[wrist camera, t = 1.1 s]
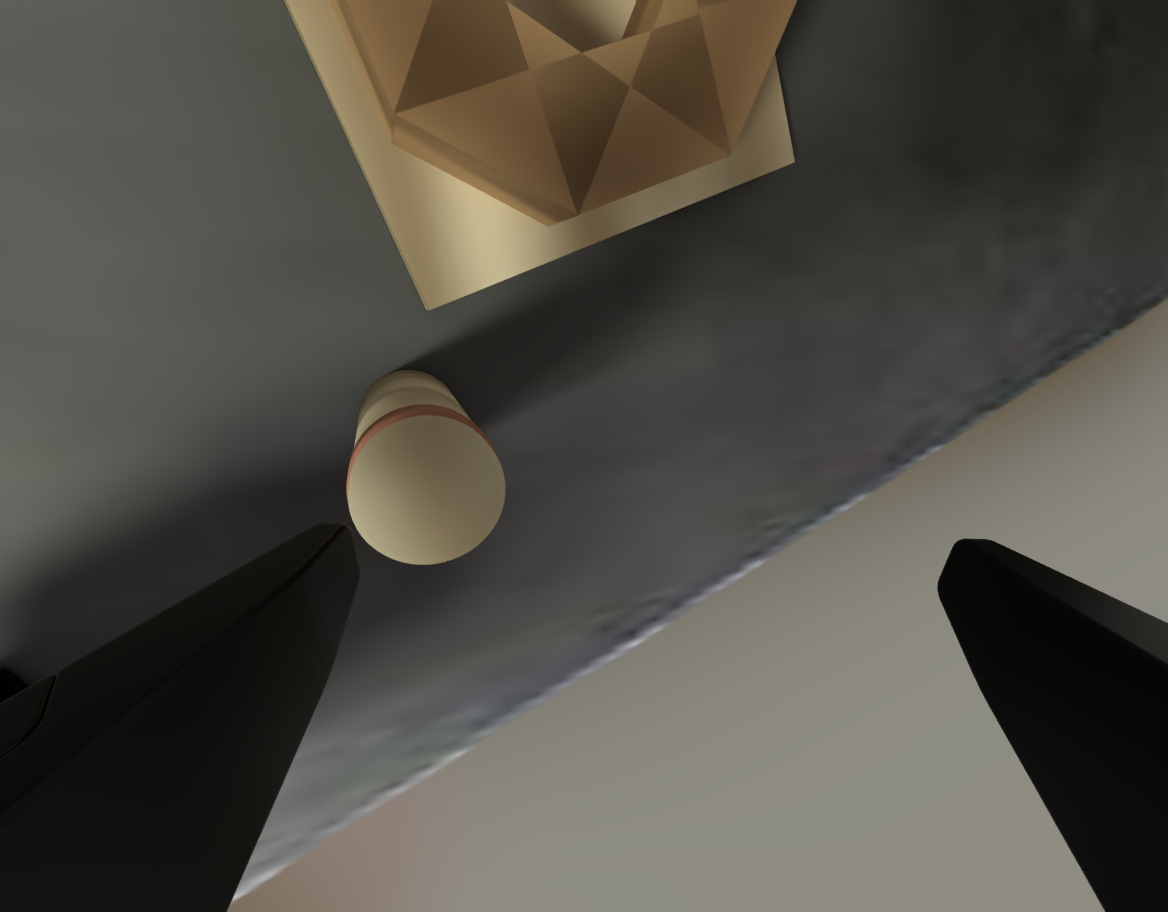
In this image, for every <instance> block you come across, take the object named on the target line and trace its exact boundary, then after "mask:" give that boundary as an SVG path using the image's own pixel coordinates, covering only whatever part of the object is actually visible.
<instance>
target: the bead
mask: <svg viewBox="0 0 1168 912" xmlns="http://www.w3.org/2000/svg"><path fill="white" fill-rule="evenodd" d="M329 1H330V3H331V5H332V8H333V10H334V12H335V15H336V17H337V19H338V22H339V24H340V26H341V28H342V31H343V33H344V35H345V38H346V40H347V42H348V45H349V47H350V49H351V51H352V54H353V56H354V58H355V61H356V63H357V65H358V68H359V70H360V72H361V75H362V77H363V79H364V81H365V84H366V86H367V88H368V91H369V93H370V95H371V98H372V100H373V102H374V104H375V107H376V109H377V111H378V114H379V116H380V118H381V121H382V123H383V125H384V127H385V130H386V132H387V134H388V137H389V139H390V141H391V144H393V145H395V146H397V147H399V148H401V149H403V150H404V151H406V152H408V153H410V154H412V155H414V156H416V157H418V158H420V159H421V160H423V161H425V162H427V163H429V164H431V165H433V166H435V167H436V168H438V169H440V170H442V171H444V172H446V173H448V174H450V175H452V176H453V177H455V178H457V179H459V180H461V181H463V182H465V183H467V184H468V185H470V186H472V187H474V188H476V189H478V190H480V191H482V192H484V193H485V194H487V195H489V196H491V197H493V198H495V199H497V200H499V201H501V202H502V203H504V204H506V205H508V206H510V207H512V208H514V209H516V210H517V211H519V212H521V213H523V214H525V215H527V216H529V217H531V218H533V219H534V220H536V221H538V222H540V223H542V224H544V225H546V226H547V227H549V226H552V225H555V224H557V223H560V222H563V221H565V220H568V219H571V218H573V217H576V216H579V215H580V214H583V213H585V212H588V211H590V210H593V209H596V208H598V207H601V206H603V205H606V204H608V203H611V202H613V201H616V200H619V199H621V198H624V197H626V196H629V195H631V194H634V193H636V192H639V191H642V190H644V189H647V188H649V187H652V186H654V185H657V184H659V183H662V182H665V181H667V180H670V179H672V178H675V177H677V176H680V175H682V174H685V173H687V172H690V171H693V170H695V169H698V168H700V167H703V166H706V165H708V164H711V163H714V162H716V161H719V160H721V159H724V158H727V157H729V156H731V155H732V152H733V150H734V147H735V145H736V143H737V140H738V138H739V136H740V133H741V131H742V129H743V126H744V124H745V122H746V119H747V117H748V115H749V112H750V110H751V108H752V105H753V103H754V101H755V98H756V96H757V93H758V91H759V89H760V86H761V84H762V82H763V79H764V77H765V75H766V72H767V70H768V68H769V65H770V63H771V61H772V58H773V56H774V54H775V51H776V49H777V47H778V44H779V42H780V39H781V37H782V35H783V32H784V30H785V28H786V25H787V23H788V21H789V18H790V16H791V14H792V11H793V9H794V7H795V4H796V2H797V0H636V3H635V6H634V8H633V11H632V13H631V16H630V19H629V21H628V24H627V26H626V29H625V31H624V34H623V36H622V39H621V40H619V41H616V42H613V43H610V44H607V45H604V46H601V47H598V48H595V49H592V50H589V51H586V52H583V53H581V52H580V51H578V50H577V49H576V48H574V47H573V46H571V45H570V44H568V43H567V42H565V41H564V40H562V39H561V38H560V37H558V36H557V35H555V34H554V33H552V32H551V31H549V30H548V29H547V28H545V27H544V26H542V25H541V24H539V23H538V22H536V21H535V20H534V19H532V18H531V17H529V16H528V15H526V14H525V13H523V12H522V11H521V10H519V9H518V8H516V7H515V6H513V5H512V4H510V3H509V2H507V1H506V0H329Z"/></svg>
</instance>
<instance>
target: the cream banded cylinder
mask: <svg viewBox="0 0 1168 912" xmlns="http://www.w3.org/2000/svg"><path fill="white" fill-rule="evenodd" d="M346 488H347V499H348V504H349V510H350V514H351V517H352V520H353V522H354V524H355V526H356V528H357V530H358V531H359V533H360V534H361V536H362V537H363V538H364V539H365V540H366V542H367V543H368V544H369V545H371V546H372V547H373V548H374V549H375V550H377V551H378V552H380V553H382V554H383V555H385V556H387V557H389V558H392V559H394V560H397V561H400V562H404V563H409V564H417V565H429V564H437V563H443V562H446V561H450V560H453V559H455V558H458V557H460V556H462V555H464V554H466V553H467V552H469V551H471V550H472V549H474V548H475V547H476V546H478V545H479V544H480V543H481V542H482V541H483V540H484V539H485V538H486V537H487V536H488V535H489V533H490V532H491V531H492V529H493V528H494V526H495V525H496V523H497V521H498V519H499V517H500V515H501V512H502V509H503V506H504V501H505V491H506V487H505V478H504V473H503V469H502V467H501V463H500V461H499V458H498V455H497V453H496V451H495V450H494V448H493V446H492V445H491V443H490V442H489V441H488V439H487V438H486V437H485V435H484V434H483V433H482V431H481V430H480V429H479V428H478V427H477V426H476V425H475V424H474V423H473V422H472V421H471V419H470V418H469V417H468V415H467V414H466V413H465V411H464V410H463V408H462V407H461V406H460V404H459V403H458V401H457V400H456V399H455V397H454V396H453V395H452V393H451V392H450V390H449V389H448V388H447V387H446V386H445V385H444V384H443V383H442V382H441V381H440V380H439V379H437V378H436V377H434V376H432V375H430V374H428V373H425V372H422V371H417V370H400V371H395V372H392V373H389V374H387V375H385V376H383V377H381V378H380V379H378V380H377V381H376V382H374V383H373V384H372V385H371V386H370V388H369V389H368V390H367V392H366V393H365V395H364V397H363V399H362V402H361V406H360V412H359V418H358V425H357V432H356V439H355V446H354V450H353V452H352V455H351V459H350V463H349V469H348V476H347V484H346Z"/></svg>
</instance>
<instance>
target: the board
mask: <svg viewBox="0 0 1168 912" xmlns="http://www.w3.org/2000/svg"><path fill="white" fill-rule="evenodd" d="M506 1H507V2H509V3H510V4H512V5H513V6H515V7H516V8H518V9H519V10H521V11H522V12H523V13H525V14H526V15H528V16H529V17H531V18H532V19H534V20H535V21H536V22H538V23H539V24H541V25H542V26H544V27H545V28H547V29H548V30H549V31H551V32H552V33H554V34H555V35H557V36H558V37H560V38H561V39H562V40H564V41H565V42H567V43H568V44H570V45H571V46H573V47H574V48H576V49H577V50H578V51H580V52H581V53H583V52H586V51H589V50H592V49H595V48H598V47H601V46H604V45H607V44H610V43H613V42H616V41H619V40H621V39H622V36H623V34H624V31H625V29H626V26H627V24H628V21H629V19H630V16H631V13H632V11H633V8H634V6H635V3H636V0H506ZM284 2H285V4H286V6H287V8H288V10H289V12H290V15H291V17H292V19H293V21H294V23H295V25H296V28H297V30H298V32H299V34H300V36H301V39H302V41H303V43H304V45H305V47H306V49H307V52H308V54H309V56H310V58H311V60H312V62H313V65H314V67H315V69H316V71H317V73H318V75H319V78H320V80H321V82H322V84H323V86H324V88H325V91H326V93H327V95H328V97H329V99H330V102H331V104H332V106H333V108H334V110H335V112H336V115H337V117H338V119H339V121H340V123H341V125H342V128H343V130H344V132H345V134H346V136H347V138H348V141H349V143H350V145H351V147H352V149H353V151H354V154H355V156H356V158H357V160H358V162H359V164H360V167H361V169H362V171H363V173H364V175H365V178H366V180H367V182H368V184H369V186H370V188H371V191H372V193H373V195H374V197H375V199H376V201H377V204H378V206H379V208H380V210H381V212H382V214H383V217H384V219H385V221H386V223H387V225H388V227H389V230H390V232H391V234H392V236H393V238H394V241H395V243H396V245H397V247H398V249H399V251H400V254H401V256H402V258H403V260H404V262H405V264H406V267H407V269H408V271H409V273H410V275H411V277H412V280H413V282H414V284H415V286H416V288H417V290H418V293H419V295H420V297H421V299H422V301H423V303H424V306H425V308H426V310H428V311H429V310H432V309H434V308H437V307H439V306H442V305H444V304H447V303H449V302H451V301H454V300H456V299H459V298H461V297H464V296H466V295H469V294H471V293H474V292H476V291H479V290H481V289H484V288H486V287H488V286H491V285H493V284H496V283H498V282H501V281H503V280H506V279H508V278H511V277H513V276H516V275H518V274H521V273H523V272H525V271H528V270H530V269H533V268H535V267H538V266H540V265H543V264H545V263H548V262H550V261H553V260H555V259H558V258H560V257H562V256H565V255H567V254H570V253H572V252H575V251H577V250H580V249H582V248H585V247H587V246H590V245H592V244H595V243H597V242H599V241H602V240H604V239H607V238H609V237H612V236H614V235H617V234H619V233H622V232H624V231H627V230H629V229H631V228H634V227H636V226H639V225H641V224H644V223H646V222H649V221H651V220H654V219H656V218H659V217H661V216H664V215H666V214H668V213H671V212H673V211H676V210H678V209H681V208H683V207H686V206H688V205H691V204H693V203H696V202H698V201H701V200H703V199H705V198H708V197H710V196H713V195H715V194H718V193H720V192H723V191H725V190H728V189H730V188H733V187H735V186H738V185H740V184H742V183H745V182H747V181H750V180H752V179H755V178H757V177H760V176H762V175H765V174H767V173H770V172H772V171H775V170H777V169H779V168H782V167H784V166H787V165H789V164H792V163H794V162H795V160H794V155H793V149H792V144H791V138H790V133H789V128H788V122H787V117H786V111H785V106H784V100H783V95H782V90H781V84H780V79H779V73H778V68H777V63H776V57H775V54H774V56H773V58H772V61H771V63H770V65H769V68H768V70H767V72H766V75H765V77H764V79H763V82H762V84H761V86H760V89H759V91H758V93H757V96H756V98H755V101H754V103H753V105H752V108H751V110H750V112H749V115H748V117H747V119H746V122H745V124H744V126H743V129H742V131H741V133H740V136H739V138H738V140H737V143H736V145H735V147H734V150H733V152H732V155H731V156H729V157H727V158H724V159H721V160H719V161H716V162H714V163H711V164H708V165H706V166H703V167H700V168H698V169H695V170H693V171H690V172H687V173H685V174H682V175H680V176H677V177H675V178H672V179H670V180H667V181H665V182H662V183H659V184H657V185H654V186H652V187H649V188H647V189H644V190H642V191H639V192H636V193H634V194H631V195H629V196H626V197H624V198H621V199H619V200H616V201H613V202H611V203H608V204H606V205H603V206H601V207H598V208H596V209H593V210H590V211H588V212H585V213H583V214H580V215H579V216H576V217H573V218H571V219H568V220H565V221H563V222H560V223H557V224H555V225H552V226H549V227H547V226H546V225H544V224H542V223H540V222H538V221H536V220H534V219H533V218H531V217H529V216H527V215H525V214H523V213H521V212H519V211H517V210H516V209H514V208H512V207H510V206H508V205H506V204H504V203H502V202H501V201H499V200H497V199H495V198H493V197H491V196H489V195H487V194H485V193H484V192H482V191H480V190H478V189H476V188H474V187H472V186H470V185H468V184H467V183H465V182H463V181H461V180H459V179H457V178H455V177H453V176H452V175H450V174H448V173H446V172H444V171H442V170H440V169H438V168H436V167H435V166H433V165H431V164H429V163H427V162H425V161H423V160H421V159H420V158H418V157H416V156H414V155H412V154H410V153H408V152H406V151H404V150H403V149H401V148H399V147H397V146H395V145H393V144H391V141H390V139H389V137H388V134H387V132H386V130H385V127H384V125H383V123H382V121H381V118H380V116H379V114H378V111H377V109H376V107H375V104H374V102H373V100H372V98H371V95H370V93H369V91H368V88H367V86H366V84H365V81H364V79H363V77H362V75H361V72H360V70H359V68H358V65H357V63H356V61H355V58H354V56H353V54H352V51H351V49H350V47H349V45H348V42H347V40H346V38H345V35H344V33H343V31H342V28H341V26H340V24H339V22H338V19H337V17H336V15H335V12H334V10H333V8H332V5H331V3H330V1H329V0H284Z"/></svg>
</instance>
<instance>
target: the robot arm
mask: <svg viewBox="0 0 1168 912" xmlns="http://www.w3.org/2000/svg"><path fill="white" fill-rule="evenodd" d="M359 575H360V569H359V563H358V558H357V553H356V548H355V543H354V539H353V534H352V530H351V528H350V527H349V526H348V525H347V524H345V523H318V524H316V525H314V526H312V527H311V528H309V529H307V530H305V531H304V532H302V533H300V534H298V535H297V536H295V537H293V538H291V539H290V540H288V541H286V542H284V543H282V544H281V545H279V546H277V547H275V548H274V549H272V550H270V551H268V552H267V553H265V554H263V555H261V556H260V557H258V558H256V559H254V560H252V561H251V562H249V563H247V564H245V565H244V566H242V567H240V568H238V569H237V570H235V571H233V572H231V573H229V574H228V575H226V576H224V577H222V578H221V579H219V580H217V581H215V582H214V583H212V584H210V585H208V586H207V587H205V588H203V589H201V590H199V591H198V592H196V593H194V594H192V595H191V596H189V597H187V598H185V599H184V600H182V601H180V602H178V603H176V604H175V605H173V606H171V607H169V608H168V609H166V610H164V611H162V612H161V613H159V614H157V615H155V616H153V617H152V618H150V619H148V620H146V621H145V622H143V623H141V624H139V625H138V626H136V627H134V628H132V629H131V630H129V631H127V632H125V633H123V634H122V635H120V636H118V637H116V638H115V639H113V640H111V641H109V642H108V643H106V644H104V645H102V646H100V647H99V648H97V649H95V650H93V651H92V652H90V653H88V654H86V655H85V656H83V657H81V658H79V659H78V660H76V661H74V662H72V663H70V664H69V665H67V666H65V667H63V668H62V669H60V670H59V671H58V672H57V675H49V676H47V677H45V678H44V679H42V680H40V681H38V682H37V683H35V684H33V685H31V686H30V687H28V686H27V685H26V684H25V683H24V682H23V681H22V680H21V679H20V678H19V677H18V676H17V675H16V674H14V673H13V672H11V671H10V670H6V669H2V668H0V912H227V910H228V908H229V905H230V903H231V901H232V899H233V896H234V894H235V892H236V889H237V887H238V885H239V883H240V880H241V878H242V876H243V873H244V871H245V869H246V867H247V864H248V862H249V860H250V857H251V855H252V853H253V851H254V848H255V846H256V844H257V841H258V839H259V837H260V835H261V832H262V830H263V828H264V825H265V823H266V821H267V819H268V816H269V814H270V812H271V809H272V807H273V805H274V803H275V800H276V798H277V796H278V793H279V791H280V789H281V786H282V784H283V782H284V780H285V777H286V775H287V773H288V770H289V768H290V766H291V764H292V761H293V759H294V757H295V754H296V752H297V750H298V748H299V745H300V743H301V741H302V738H303V736H304V734H305V732H306V729H307V727H308V725H309V722H310V720H311V718H312V716H313V713H314V711H315V709H316V706H317V704H318V702H319V700H320V697H321V695H322V693H323V690H324V688H325V685H326V683H327V680H328V678H329V675H330V672H331V669H332V666H333V663H334V660H335V657H336V654H337V651H338V648H339V644H340V641H341V638H342V635H343V631H344V628H345V625H346V622H347V618H348V615H349V612H350V609H351V605H352V602H353V599H354V596H355V592H356V589H357V586H358V582H359ZM938 595H939V598H940V601H941V603H942V605H943V607H944V609H945V612H946V614H947V617H948V619H949V621H950V623H951V626H952V627H953V630H954V632H955V635H956V637H957V639H958V641H959V644H960V646H961V648H962V650H963V653H964V655H965V657H966V659H967V662H968V664H969V666H970V668H971V671H972V673H973V675H974V677H975V679H976V681H977V684H978V686H979V688H980V690H981V692H982V694H983V696H984V697H985V699H986V701H987V703H988V705H989V707H990V709H991V710H992V712H993V714H994V715H995V718H996V719H997V721H998V723H999V725H1000V726H1001V728H1002V730H1003V732H1004V733H1005V735H1006V737H1007V739H1008V741H1009V742H1010V744H1011V746H1012V748H1013V749H1014V751H1015V753H1016V755H1017V756H1018V758H1019V760H1020V762H1021V763H1022V765H1023V767H1024V769H1025V771H1026V772H1027V774H1028V776H1029V778H1030V779H1031V781H1032V783H1033V785H1034V786H1035V788H1036V790H1037V792H1038V793H1039V795H1040V797H1041V799H1042V801H1043V802H1044V804H1045V806H1046V808H1047V810H1048V811H1049V813H1050V815H1051V817H1052V818H1053V820H1054V822H1055V824H1056V825H1057V827H1058V829H1059V831H1060V833H1061V834H1062V836H1063V838H1064V839H1065V841H1066V843H1067V845H1068V847H1069V848H1070V850H1071V852H1072V854H1073V855H1074V857H1075V859H1076V861H1077V863H1078V864H1079V866H1080V868H1081V870H1082V871H1083V873H1084V875H1085V876H1086V879H1087V880H1088V882H1089V884H1090V886H1091V887H1092V889H1093V891H1094V893H1095V894H1096V896H1097V898H1098V900H1099V902H1100V903H1101V905H1102V907H1103V909H1104V910H1105V912H1168V623H1166V622H1164V621H1162V620H1160V619H1158V618H1156V617H1154V616H1151V615H1149V614H1147V613H1145V612H1143V611H1141V610H1139V609H1136V608H1135V607H1132V606H1130V605H1128V604H1126V603H1124V602H1122V601H1120V600H1117V599H1115V598H1113V597H1111V596H1109V595H1107V594H1105V593H1103V592H1101V591H1098V590H1096V589H1094V588H1092V587H1090V586H1088V585H1086V584H1084V583H1081V582H1079V581H1077V580H1075V579H1073V578H1071V577H1069V576H1066V575H1064V574H1062V573H1060V572H1058V571H1056V570H1054V569H1051V568H1050V567H1047V566H1045V565H1043V564H1041V563H1039V562H1037V561H1035V560H1033V559H1030V558H1028V557H1026V556H1024V555H1022V554H1020V553H1018V552H1016V551H1013V550H1011V549H1009V548H1007V547H1005V546H1003V545H1001V544H998V543H996V542H994V541H992V540H987V539H962V540H959V541H957V542H956V543H955V544H954V546H953V547H952V550H951V552H950V554H949V557H948V559H947V561H946V564H945V566H944V568H943V571H942V573H941V575H940V578H939V581H938Z"/></svg>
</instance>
